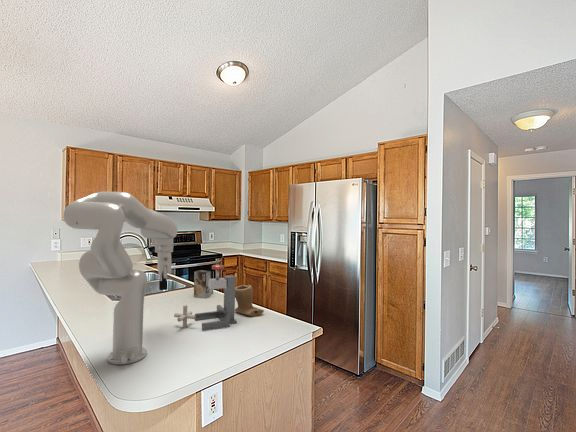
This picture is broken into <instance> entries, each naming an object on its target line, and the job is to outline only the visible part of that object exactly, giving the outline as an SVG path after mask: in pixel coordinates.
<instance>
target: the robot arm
mask: <svg viewBox="0 0 576 432" xmlns="http://www.w3.org/2000/svg"><path fill="white" fill-rule="evenodd" d="M62 217H63V220H64V222H65V224H66V225H67V226H68V227H70V228H72V229H77V230H98V231H97V234H96V236H95V237H94V238H93V240H92V241H91V244H90V249H89V250H88V251H85V252H84V253H83V254H82V255H81V256H80V258H79V262H78V269H79V273H80V275H81V276H82V277H83V279H84V280H85V282H87V284H88V285H89V286H90V287H91V288H92V289H93V290H94V291H95V292H96V293H97V294H99V295H103V296H118V297H120V299H119V300H118V302H117V303H116V304H115V306H114V309H113V326H112V327H113V329H112V333H113V334H112V351H111V352H110V353H109V354H108V355H107V362H108V363H110V364H111V365H116V366H117V365H120V366H121V365H122V366H123V365H129V364H134V363H136V362H139V361H140V360H142V359H144V358H145V357H146V356H147V355H148V352H147V349H146V347H143V337H144V335H143V334H144V333H143V331H144V306H145V305H144V303H145V295H146V291H147V287H148V276H147V274H146V273H145V272H144V271H143V270H139V269H136V268H135V269H134V268H133V265H134V264H133V261H132V259H131V257H130V256H129V254H128V252H127V250H126V249H125V247H124V246H123V244H122V241H121V236H122V235H121V234H122V230H123V227H124V222H125V223H127V224H128V225H130V226H131V227H133V228H136V229H139V230H140V234H141V236H142V237H143V238H145V239H149V240H151V239H152V240H154V252H155V253H157V272H158V274H159V281H158V282H159V283H158V285H159V286H158V287H159V288H158V289H159V291H167V290H168V275H172V253H173V252H174V238H176V237H177V235H178V226H177V224H176V222H175V221H174V220H173V219H172V218H171V217H170V216H168V215H166V214H164V213H161V212H158V211H156V210H154V209H150V208H149V207H148V208H147V207H146V206H145V205H144V204H143V203H142V202H141V201H139V200H138V199H137V198H136V197H135V196H134V195H132V194H131V193H129V192H125V191H105V190H104V191H97V192H94V193H91V194H89V195H86V196H84V197H81V198H78V199H75V200H74V201H71V202H70V203H69V204H68V205H66V207H65V208H64V210H63V216H62Z"/></svg>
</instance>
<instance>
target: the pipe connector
mask: <svg viewBox="0 0 576 432" xmlns="http://www.w3.org/2000/svg"><path fill="white" fill-rule="evenodd" d="M173 317H174V318H177V322H179V323H180V322H182V328H183V327H184V328H183V329H185V327H186V328H187V327H188V320H189V319H190V320H195V318H196V315H195V314H193V311H188V305H187V304H183V306H182V313H178V312H175V313H174V314H173Z"/></svg>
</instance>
